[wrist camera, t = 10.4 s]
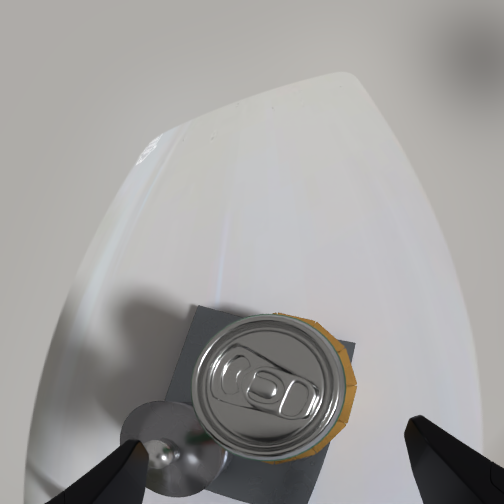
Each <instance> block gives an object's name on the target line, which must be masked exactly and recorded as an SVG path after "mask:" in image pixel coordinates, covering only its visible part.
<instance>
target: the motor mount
mask: <svg viewBox="0 0 504 504" xmlns="http://www.w3.org/2000/svg"><path fill="white" fill-rule="evenodd" d="M273 314H277V313H273ZM278 315H286V314H282V313H278ZM286 316H290V317H293V318H297V319H299V320H301V321H304V322H306V323H308V324H310V325H311V326H313V327H314V328H316V329H317V330H319V331H320V332H321V333H322V334H323V335H324V336H325V337H326V338H327V339H328V340H329V341H330V342H331V344H332V345H333V346H334V348H335V349H336V351H337V353H338V355H339V356H340V359H341V362H342V364H343V367H344V371H345V376H346V396H345V402H344V406H343V409H342V412H341V415H340V416H339V418H338V420H337V422H336V424H335V426H334V427H333V428H332V430H331V431H330V432H329V434H328V435H327V436H326V437H325V438H324V439H323V440H322V441H321V442H320V443H318V444H317V445H316V446H314V447H313V448H311V449H310V450H308V451H306V452H304V453H302V454H300V455H298V456H295V457H292V458H289V459H285V460H279V461H256V460H250V459H246V458H243V457H240V456H237V455H234V454H232V453H230V452H229V451H227V450H225V449H223V448H222V447H221V446H219V445H218V444H217V443H215V442H214V441H213V440H212V439H211V438H210V437H209V436H208V434H207V433H206V432H205V431H204V429H203V428H202V426H201V425H200V423H199V421H198V419H197V417H196V415H195V412H194V409H193V405H192V400H191V391H190V390H191V377H192V373H193V368H194V366H195V363H196V360H197V358H198V356H199V354H200V353H201V351H202V349H203V348H204V346H205V345H206V344H207V343H208V342H209V340H210V339H211V338H212V337H213V336H214V335H215V334H217V333H218V332H219V331H220V330H222V329H223V328H225V327H226V326H227V325H229V324H231V323H233V322H235V321H237V320H240V319H243V317H239V316H235V315H232V314H228V313H224V312H221V311H217V310H213V309H210V308H206V307H203V306H199V305H198V308H197V311H196V314H195V316H194V319H193V322H192V324H191V327H190V330H189V333H188V335H187V338H186V341H185V344H184V346H183V349H182V352H181V355H180V358H179V361H178V363H177V366H176V369H175V372H174V375H173V378H172V381H171V383H170V386H169V389H168V392H167V395H166V398H165V401H155V402H149V403H146V404H143V405H141V406H139V407H138V408H136V409H135V410H134V411H133V412H132V413H130V415H129V416H128V417H127V418H126V420H125V422H124V424H123V426H122V429H121V434H120V446H121V445H122V444H123V443H124V442H125V441H127V440H128V439H136V440H140V441H141V442H142V444H143V445H144V447H145V448H146V450H147V451H148V454H149V463H148V471H147V479H146V488H148V489H150V490H152V491H154V492H156V493H158V494H161V495H165V496H170V497H186V496H191V495H194V494H197V493H199V492H200V491H202V490H204V489H206V490H208V491H211V492H214V493H217V494H220V495H223V496H226V497H229V498H232V499H236V500H239V501H243V502H246V503H250V504H308V501H309V499H310V496H311V494H312V491H313V489H314V486H315V484H316V481H317V478H318V476H319V473H320V470H321V468H322V465H323V462H324V459H325V456H326V453H327V450H328V447H329V444H330V441H331V440H332V439H333V438H334V437H335V436H336V435H337V434H338V433H339V432H340V431H341V430H342V429H343V428H344V427H345V426H346V424H345V423H348V419H349V416H350V412H351V408H352V405H353V401H354V397H355V393H356V389H357V386H355V385H356V384H357V382H356V379H355V376H354V372H353V369H352V366H351V362H352V358H353V353H354V348H355V343H353V342H347V341H342V340H337V339H336V338H334V337H333V336H332V335H331V334H330V333H329V332H328V331H327V330H325V329H324V328H323V327H322V326H321V325H320V324H319V323H318V322H316V323H315V321H313V320H308V319H304V318H299V317H295V316H291V315H286Z"/></svg>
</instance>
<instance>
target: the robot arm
mask: <svg viewBox="0 0 504 504" xmlns="http://www.w3.org/2000/svg"><path fill="white" fill-rule="evenodd" d="M404 438H405V442H406V446H407V450H408V455H409V459H410V463H411V468H412V472H413V475H414V478H415V481H416V483H417V486H418V489H419V492H420V495H421V498H422V501H423V504H504V468H502V467H500V466H499V465H497V464H495V463H494V462H491V461H490V460H489V459H487V458H486V457H484V456H483V455H481V454H479V453H478V452H476V451H475V450H473V449H472V448H470V447H469V446H467V445H466V444H464V443H462V442H461V441H459V440H458V439H456V438H455V437H453V436H452V435H450V434H449V433H447V432H446V431H444V430H443V429H441V428H440V427H438V426H437V425H435V424H434V423H432V422H431V421H429V420H428V419H427V418H425V417H424V416H422V415H418V416H415V417H412V418H410V419H409V421H408V424H407V427H406V429H405V432H404ZM148 463H149V454H148V451H147V450H146V448H145V447H144V445H143V444H142V442H141V441H140V440H136V439H128V440H127V441H125V442H124V443H123V444H122V445H121V446H119V447H118V448H117V449H116V450H115V451H113V452H112V453H111V454H110V455H109V456H107V457H106V458H105V459H104V460H102V461H101V462H100V463H99V464H98V465H96V466H95V467H94V468H93V469H91V470H90V471H89V472H87V473H86V474H85V475H84V476H82V477H81V478H80V479H78V480H77V481H76V482H75V483H73V484H72V485H71V486H69V487H68V488H67V489H65V491H62V492H61V493H60V494H58V495H57V496H56V497H54V498H53V499H51V500H50V501H48V502H46V503H45V504H142V501H143V497H144V493H145V487H146V479H147V471H148Z"/></svg>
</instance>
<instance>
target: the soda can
mask: <svg viewBox="0 0 504 504" xmlns="http://www.w3.org/2000/svg"><path fill="white" fill-rule="evenodd" d="M190 391H191V400H192V405H193V409H194V412H195V415H196V417H197V419H198V421H199V423H200V425H201V426H202V428H203V429H204V431H205V432H206V433H207V434H208V436H209V437H210V438H211V439H212V440H213V441H214V442H215V443H217V444H218V445H219V446H221V447H222V448H223V449H225V450H227V451H229V452H230V453H232V454H234V455H237V456H240V457H243V458H246V459H250V460H256V461H279V460H285V459H289V458H292V457H295V456H298V455H300V454H302V453H304V452H306V451H308V450H310V449H311V448H313V447H314V446H316V445H317V444H318V443H320V442H321V441H322V440H323V439H324V438H325V437H326V436H327V435H328V434H329V432H330V431H331V430H332V428H333V427H334V426H335V424H336V422H337V420H338V418H339V416H340V415H341V412H342V409H343V406H344V402H345V396H346V376H345V371H344V367H343V364H342V362H341V359H340V356H339V355H338V353H337V351H336V349H335V348H334V346H333V345H332V344H331V342H330V341H329V340H328V339H327V338H326V337H325V336H324V335H323V334H322V333H321V332H320V331H319V330H317V329H316V328H314V327H313V326H311V325H310V324H308V323H306V322H304V321H301V320H299V319H297V318H293V317H290V316H286V315H278V314H260V315H254V316H249V317H246V318H243V319H240V320H237V321H235V322H233V323H231V324H229V325H227V326H226V327H225V328H223V329H222V330H220V331H219V332H218V333H217V334H215V335H214V336H213V337H212V338H211V339H210V340H209V342H208V343H207V344H206V345H205V346H204V348H203V349H202V351H201V353H200V354H199V356H198V358H197V360H196V363H195V366H194V368H193V373H192V377H191V390H190Z"/></svg>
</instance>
